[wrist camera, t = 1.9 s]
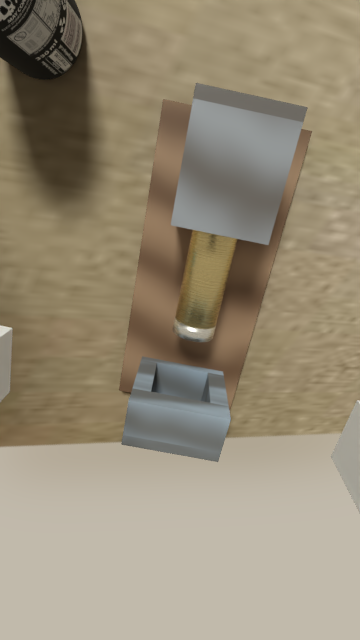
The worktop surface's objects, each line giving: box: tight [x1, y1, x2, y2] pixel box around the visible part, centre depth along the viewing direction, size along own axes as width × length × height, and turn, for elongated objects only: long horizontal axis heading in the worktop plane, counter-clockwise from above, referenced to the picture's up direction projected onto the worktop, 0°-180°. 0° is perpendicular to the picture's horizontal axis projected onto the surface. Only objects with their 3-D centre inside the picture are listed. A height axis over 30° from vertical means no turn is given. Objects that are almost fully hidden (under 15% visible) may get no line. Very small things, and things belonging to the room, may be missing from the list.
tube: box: [172, 230, 237, 342], centre depth 27 cm, size 16×4×4 cm, turn 169°
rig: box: [119, 83, 312, 462], centre depth 29 cm, size 27×12×9 cm, turn 169°
